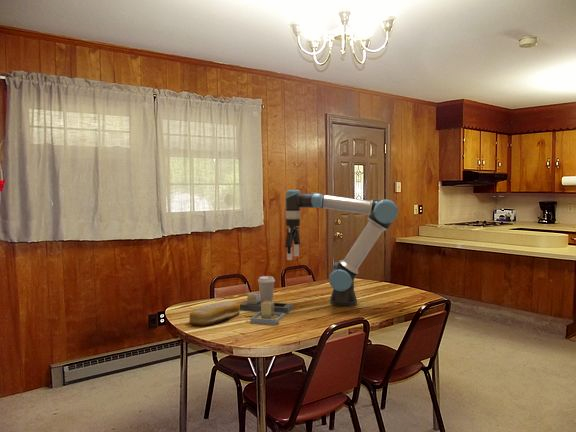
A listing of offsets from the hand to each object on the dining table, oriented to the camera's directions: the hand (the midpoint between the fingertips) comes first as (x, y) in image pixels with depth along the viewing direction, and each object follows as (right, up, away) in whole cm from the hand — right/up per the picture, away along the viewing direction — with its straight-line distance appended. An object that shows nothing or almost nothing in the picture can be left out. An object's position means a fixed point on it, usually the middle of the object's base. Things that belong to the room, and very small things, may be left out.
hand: (293, 258), depth 237 cm
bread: (-38, -29, -23) cm, 53 cm away
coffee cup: (-15, -27, +8) cm, 31 cm away
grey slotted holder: (-14, -27, -8) cm, 32 cm away
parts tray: (-13, -28, -24) cm, 39 cm away
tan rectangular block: (-13, -27, -24) cm, 38 cm away
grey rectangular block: (-21, -26, -6) cm, 34 cm away
